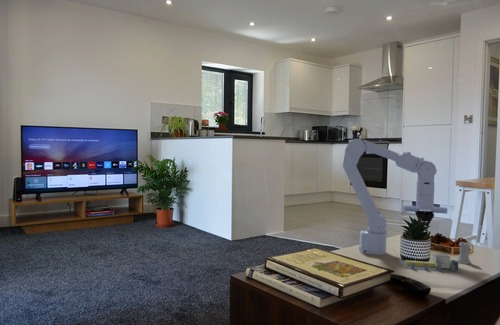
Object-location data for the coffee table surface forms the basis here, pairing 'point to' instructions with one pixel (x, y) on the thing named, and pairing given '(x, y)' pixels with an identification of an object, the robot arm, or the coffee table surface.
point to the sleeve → (441, 260)
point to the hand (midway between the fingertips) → (423, 232)
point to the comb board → (429, 266)
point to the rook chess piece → (463, 253)
